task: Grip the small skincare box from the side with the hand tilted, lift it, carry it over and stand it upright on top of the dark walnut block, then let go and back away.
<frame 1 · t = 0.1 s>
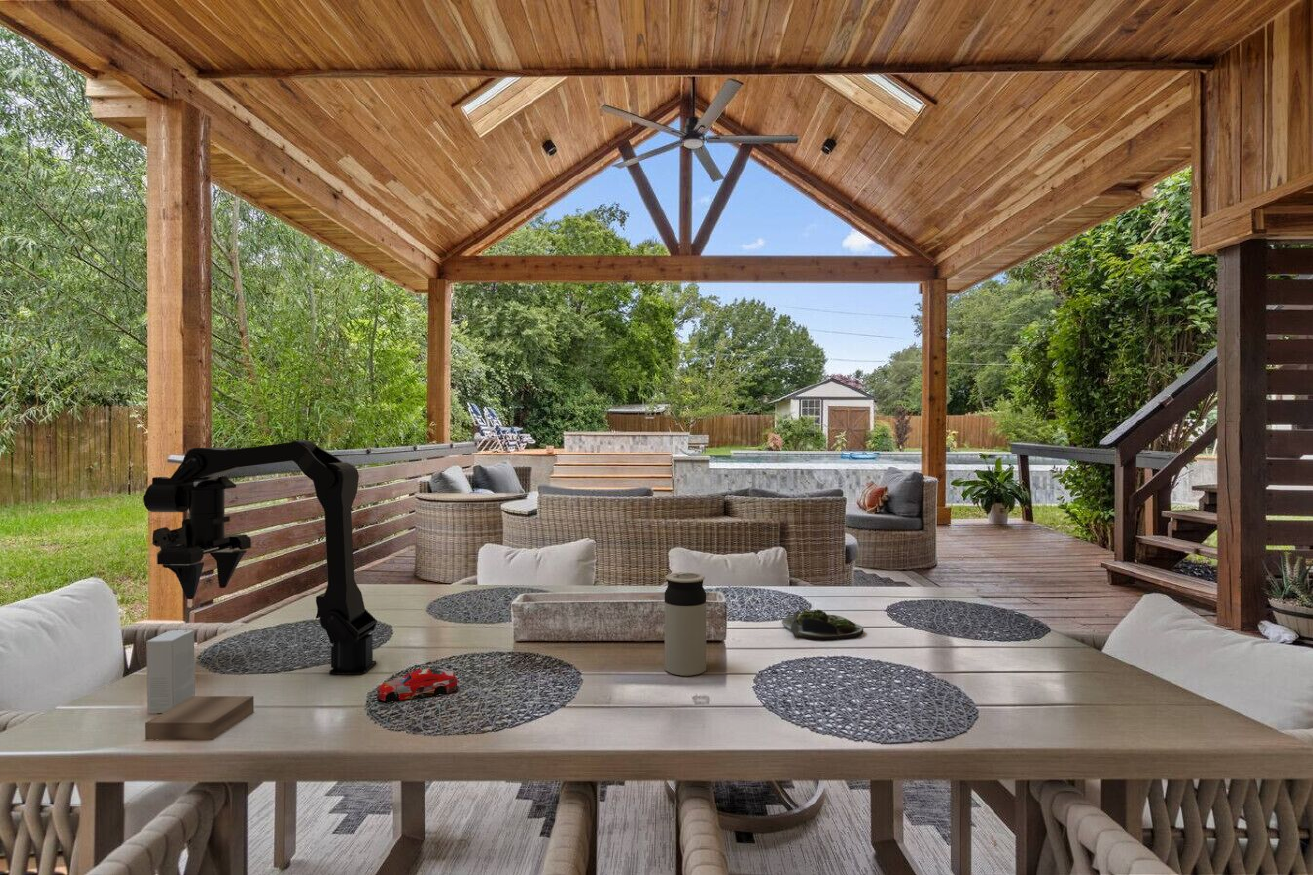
hand: (207, 593, 129), 15 cm above the table, tool pointing down, fingers open, 9 cm apart
salad plate: (821, 633, 154), on the table
skincare box: (171, 707, 111), on the table
travel mug: (685, 670, 128), on the table
walnut block: (202, 727, 104), on the table
race car: (418, 696, 117), on the table
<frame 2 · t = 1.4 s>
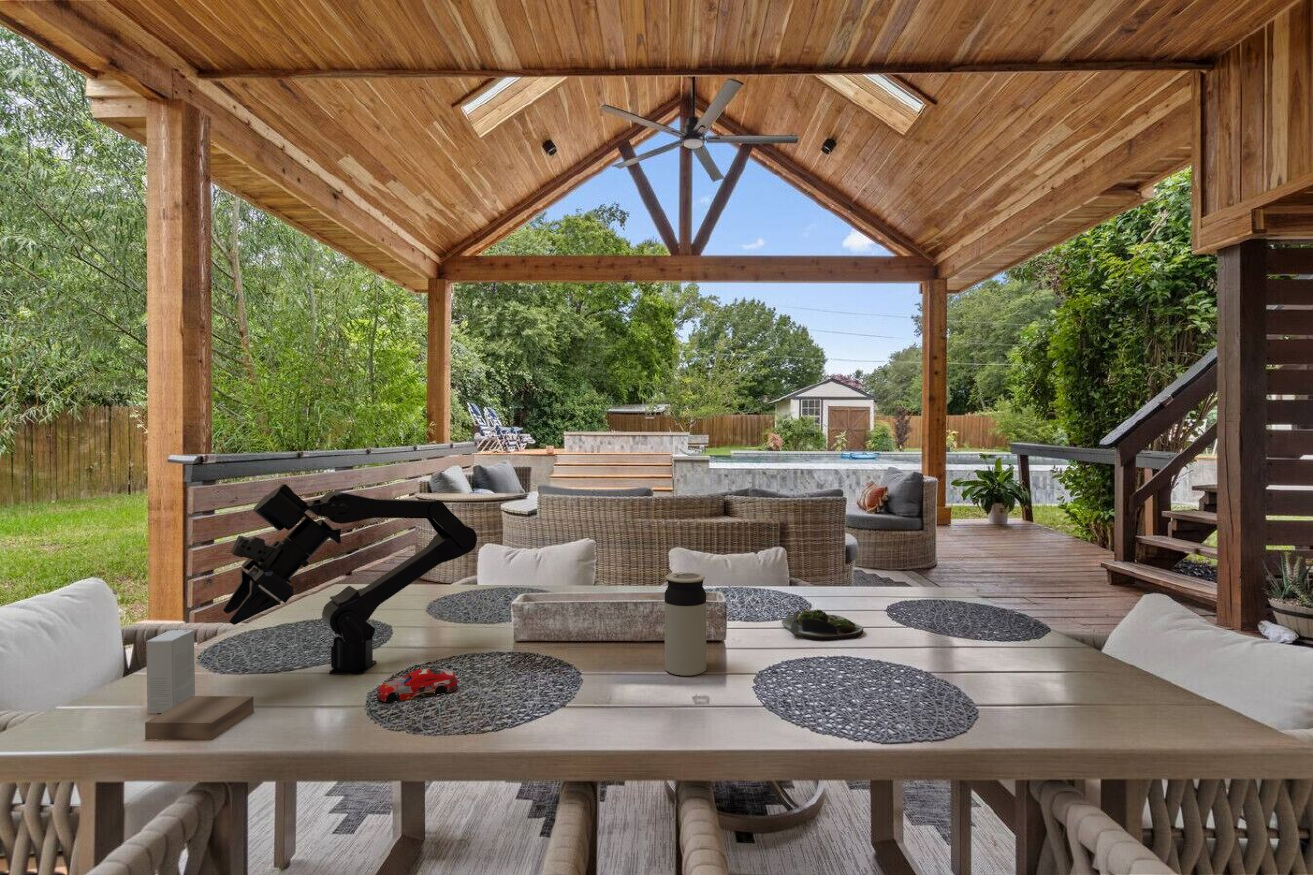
hand: (228, 617, 116), 13 cm above the table, tool tilted 45°, fingers open, 9 cm apart
nothing on the table moved.
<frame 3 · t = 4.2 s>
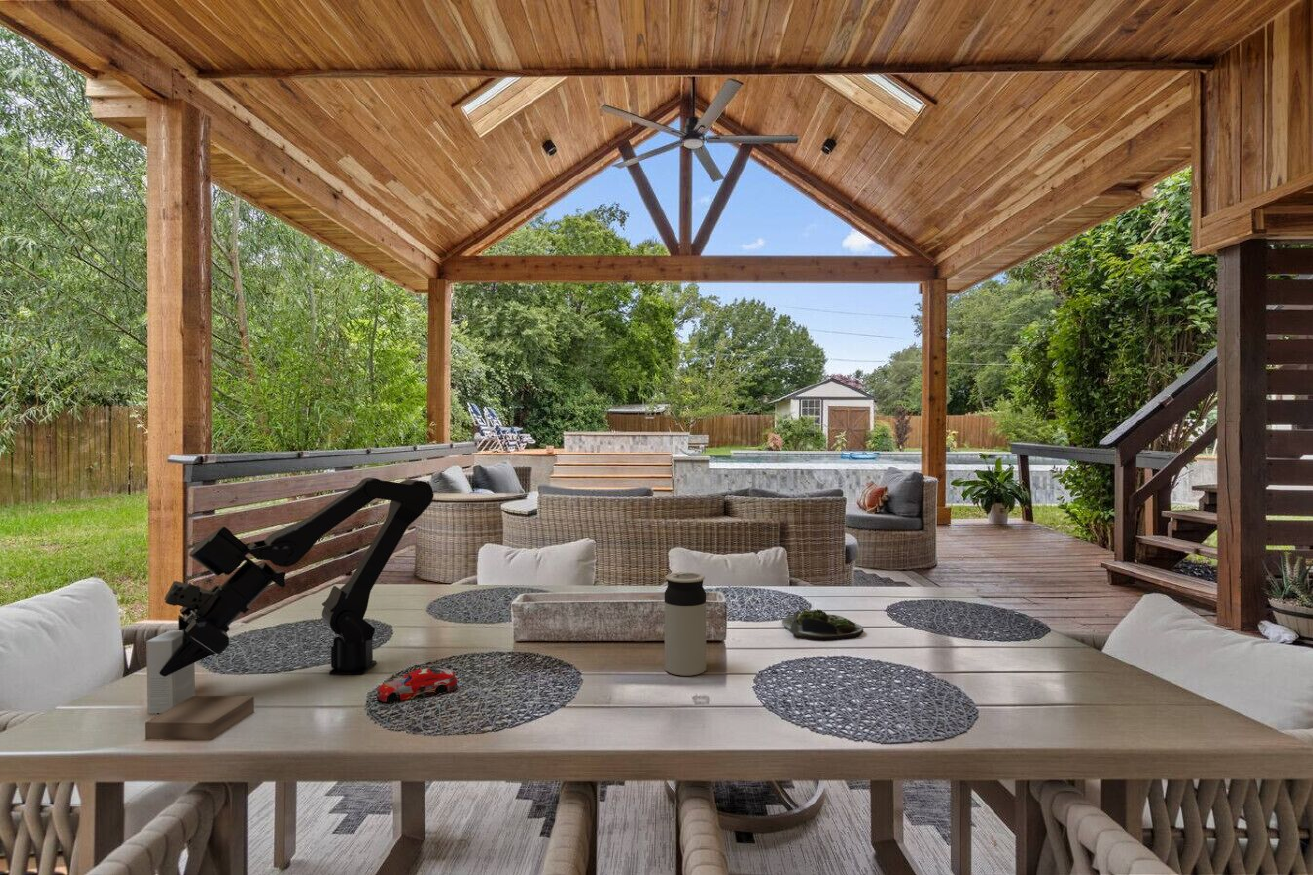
hand: (160, 668, 110), 7 cm above the table, tool tilted 45°, fingers closed on skincare box, 7 cm apart
skincare box: (171, 707, 111), on the table, touching gripper
everything else where it was.
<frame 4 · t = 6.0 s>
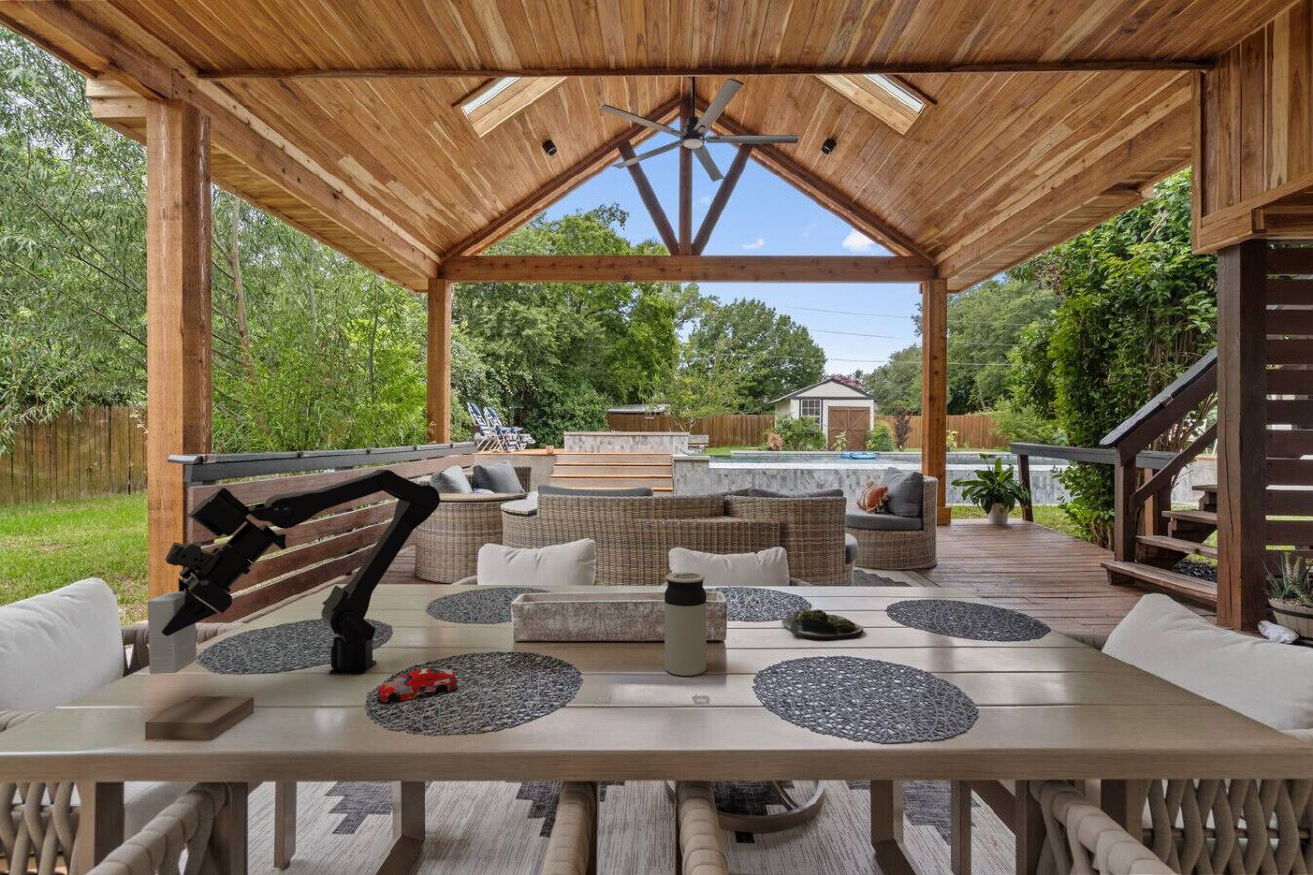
hand: (162, 629, 110), 13 cm above the table, tool tilted 45°, fingers closed on skincare box, 7 cm apart
skincare box: (173, 668, 111), point 6 cm above the table, touching gripper
everything else where it was.
when the fingers open (11 cm above the table, at t = 8.1 s): skincare box drops 2 cm, resting on walnut block.
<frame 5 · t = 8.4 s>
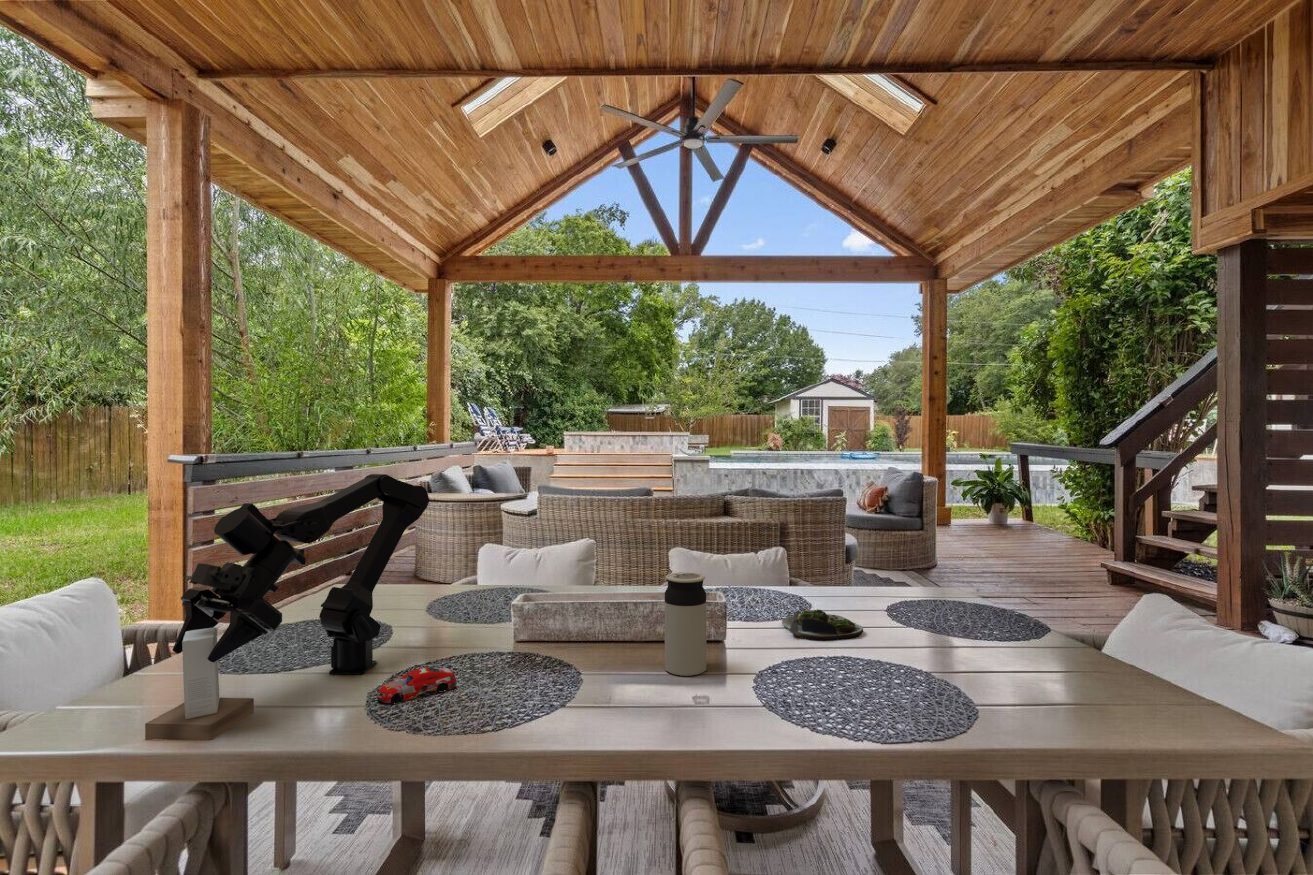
hand: (192, 656, 103), 11 cm above the table, tool tilted 45°, fingers open, 9 cm apart
skincare box: (202, 711, 104), point 2 cm above the table, touching walnut block
walnut block: (202, 729, 104), on the table, touching skincare box
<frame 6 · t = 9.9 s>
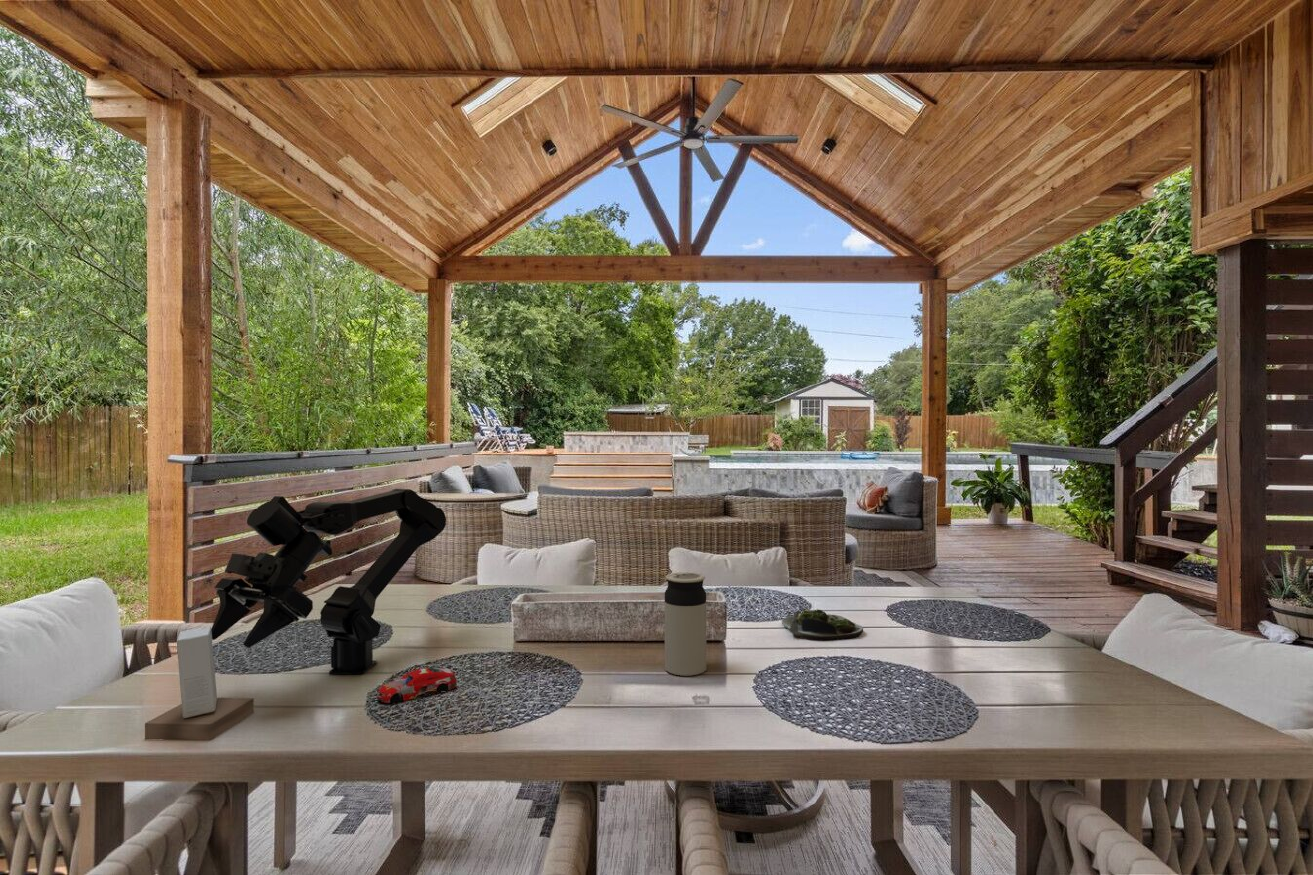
hand: (228, 642, 108), 12 cm above the table, tool tilted 45°, fingers open, 9 cm apart
skincare box: (200, 710, 104), point 2 cm above the table
walnut block: (201, 729, 104), on the table
everything else where it was.
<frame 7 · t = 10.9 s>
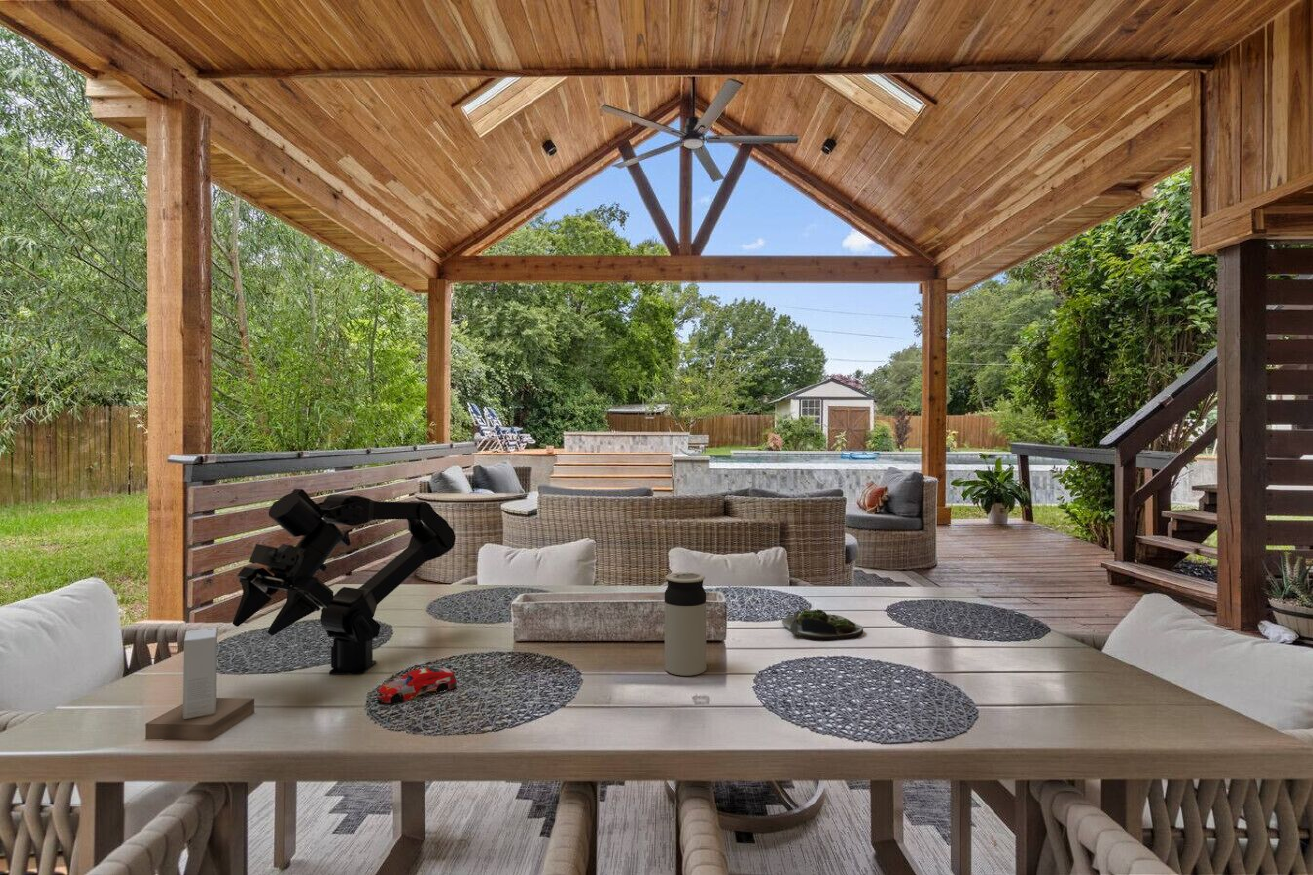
hand: (252, 629, 112), 13 cm above the table, tool tilted 45°, fingers open, 9 cm apart
skincare box: (199, 711, 104), point 2 cm above the table, touching walnut block
walnut block: (202, 729, 104), on the table, touching skincare box
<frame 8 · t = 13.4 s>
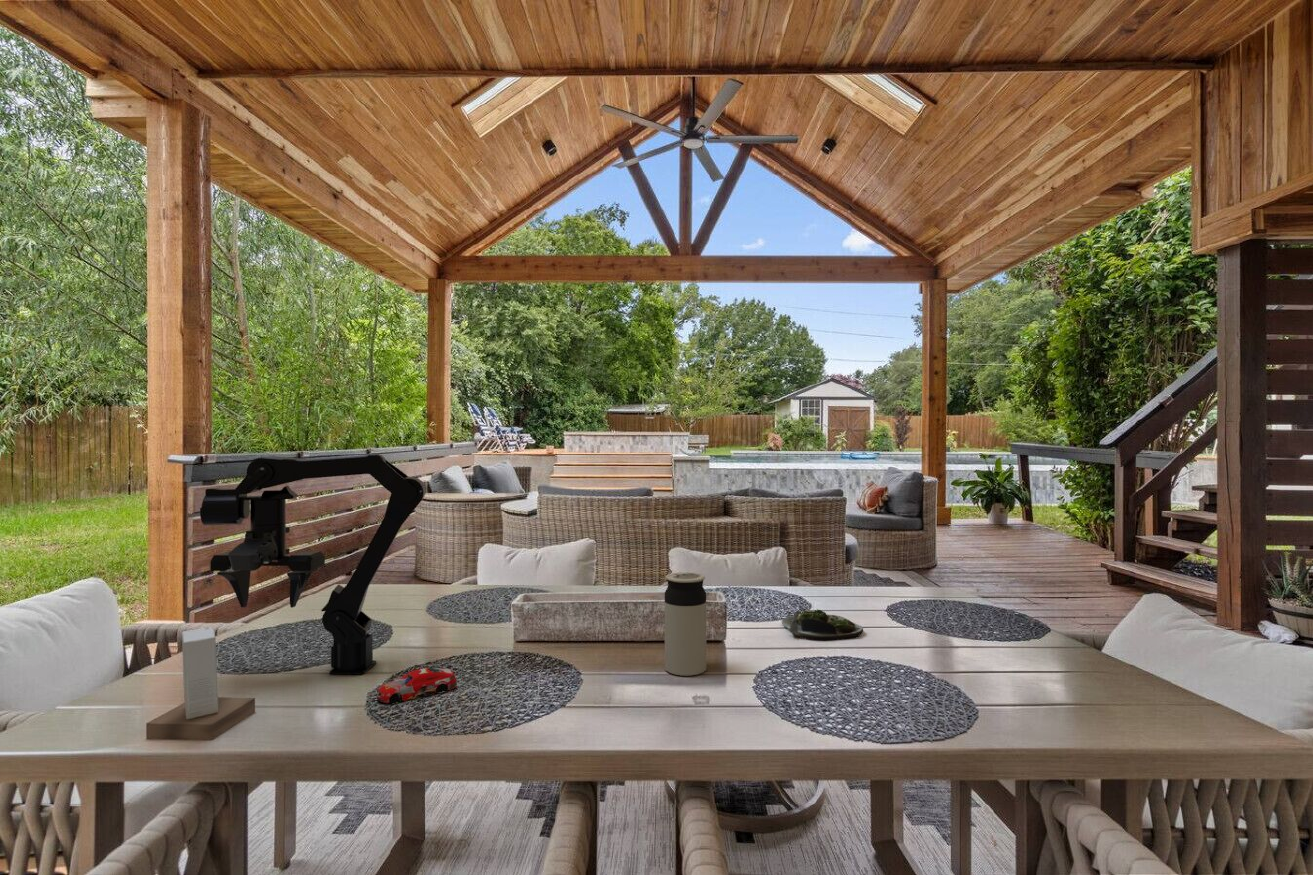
hand: (268, 606, 125), 13 cm above the table, tool pointing down, fingers open, 9 cm apart
skincare box: (201, 710, 104), point 2 cm above the table
walnut block: (203, 729, 104), on the table
everything else where it was.
at the end: skincare box 0.2 cm off-centre on the walnut block, point 3.0 cm above the walnut block's base; skincare box tilted 3°; the gripper is holding nothing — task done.
